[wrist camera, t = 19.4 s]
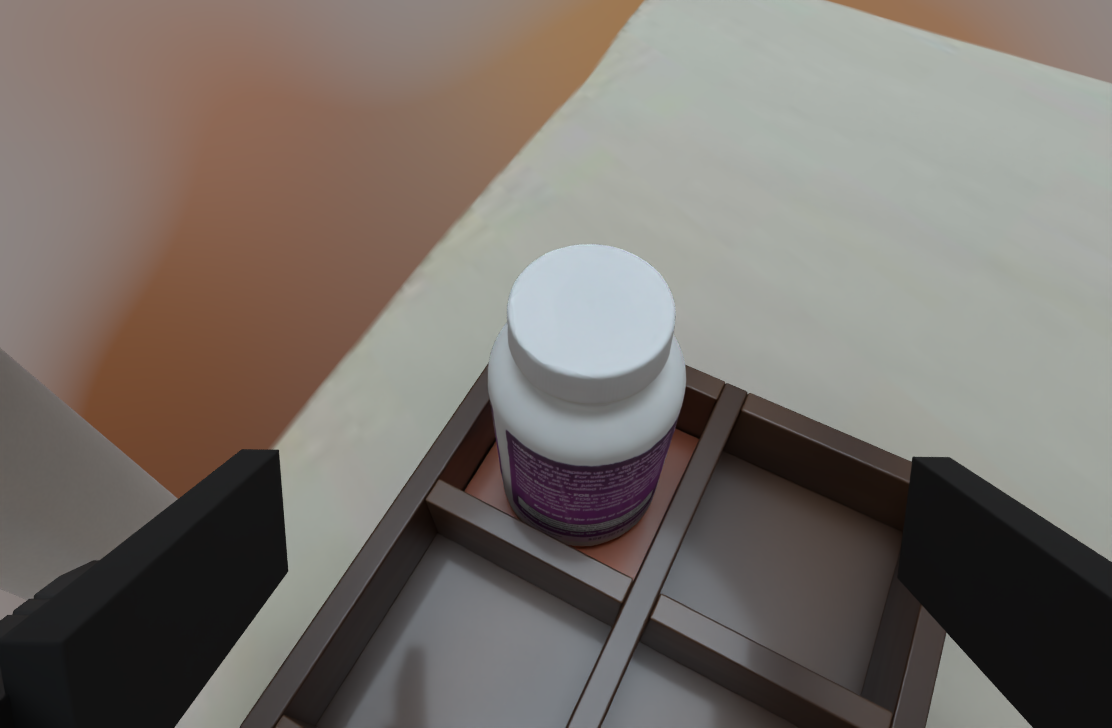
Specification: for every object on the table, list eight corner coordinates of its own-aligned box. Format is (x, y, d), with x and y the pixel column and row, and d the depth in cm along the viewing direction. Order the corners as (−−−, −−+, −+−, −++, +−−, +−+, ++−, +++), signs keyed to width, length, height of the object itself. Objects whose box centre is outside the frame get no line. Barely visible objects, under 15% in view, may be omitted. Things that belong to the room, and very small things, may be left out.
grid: (282, 740, 21) (236, 728, 18) (533, 353, 28) (531, 298, 25) (786, 1075, 17) (837, 1130, 14) (925, 529, 25) (979, 489, 22)
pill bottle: (687, 495, 24) (757, 334, 16) (557, 582, 23) (561, 451, 15) (597, 382, 27) (617, 191, 19) (473, 452, 25) (436, 278, 17)
